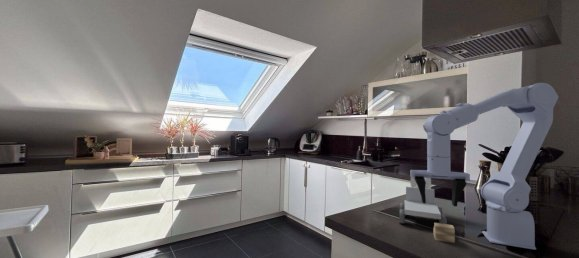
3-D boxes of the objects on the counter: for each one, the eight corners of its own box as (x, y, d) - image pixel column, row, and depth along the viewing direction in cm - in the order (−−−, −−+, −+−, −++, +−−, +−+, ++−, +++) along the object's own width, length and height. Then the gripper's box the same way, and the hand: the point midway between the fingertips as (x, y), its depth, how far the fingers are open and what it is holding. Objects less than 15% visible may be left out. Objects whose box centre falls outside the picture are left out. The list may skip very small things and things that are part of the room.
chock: (451, 236, 70) (451, 222, 70) (454, 243, 66) (454, 228, 66) (433, 233, 72) (433, 220, 72) (435, 240, 68) (435, 225, 68)
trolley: (440, 218, 85) (440, 189, 85) (446, 232, 73) (447, 198, 73) (399, 213, 91) (400, 185, 91) (399, 224, 79) (399, 193, 79)
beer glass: (415, 207, 98) (415, 170, 98) (434, 212, 93) (434, 172, 93) (407, 211, 94) (407, 171, 94) (426, 215, 88) (426, 174, 89)
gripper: (463, 156, 71) (464, 203, 71) (409, 154, 76) (409, 198, 76) (472, 158, 65) (472, 209, 64) (411, 156, 70) (412, 203, 70)
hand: (438, 204), depth 70 cm, fingers open, 7 cm apart
